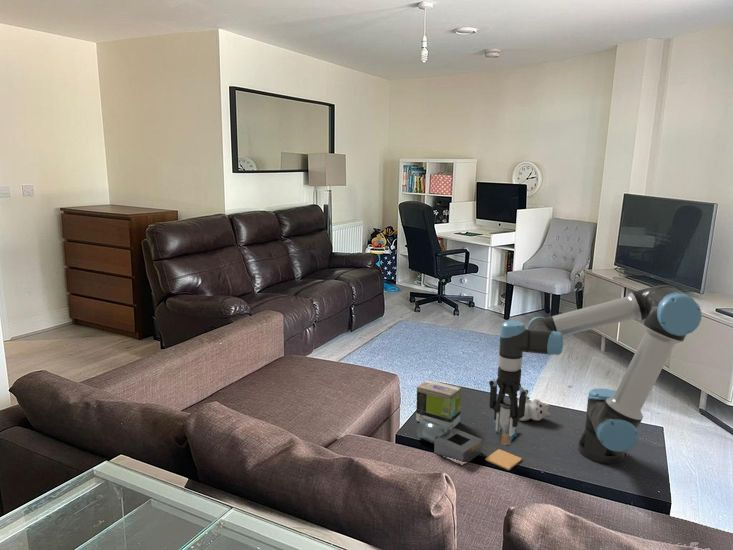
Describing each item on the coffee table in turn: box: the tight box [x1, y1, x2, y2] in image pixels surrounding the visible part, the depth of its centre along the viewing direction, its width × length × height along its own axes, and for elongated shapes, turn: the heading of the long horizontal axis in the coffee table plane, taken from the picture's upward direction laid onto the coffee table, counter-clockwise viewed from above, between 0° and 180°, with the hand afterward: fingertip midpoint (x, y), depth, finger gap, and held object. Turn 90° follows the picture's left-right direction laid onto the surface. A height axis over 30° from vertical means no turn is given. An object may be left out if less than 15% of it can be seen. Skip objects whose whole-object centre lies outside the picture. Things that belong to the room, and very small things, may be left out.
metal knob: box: [497, 399, 512, 446], centre depth 179 cm, size 5×5×14 cm
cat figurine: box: [517, 395, 551, 422], centre depth 212 cm, size 10×8×15 cm
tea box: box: [415, 379, 462, 430], centre depth 208 cm, size 15×10×15 cm, turn 56°
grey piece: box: [416, 419, 484, 463], centre depth 189 cm, size 22×12×7 cm, turn 46°
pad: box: [485, 448, 523, 471], centre depth 182 cm, size 9×9×1 cm
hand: (505, 431), depth 180 cm, fingers closed on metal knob, 4 cm apart
